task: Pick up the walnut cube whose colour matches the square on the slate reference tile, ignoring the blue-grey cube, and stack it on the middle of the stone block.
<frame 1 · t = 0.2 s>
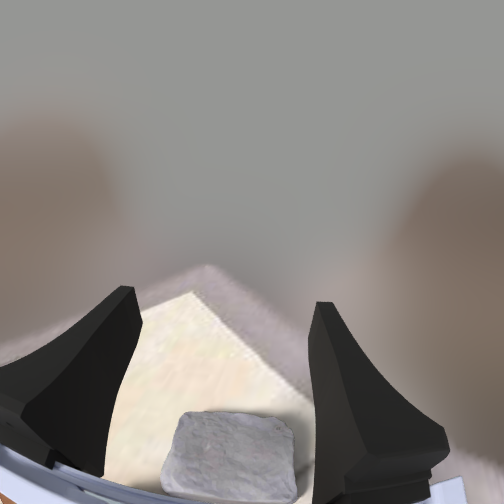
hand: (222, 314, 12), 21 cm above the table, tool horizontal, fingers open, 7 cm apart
stone block: (232, 463, 25), on the table
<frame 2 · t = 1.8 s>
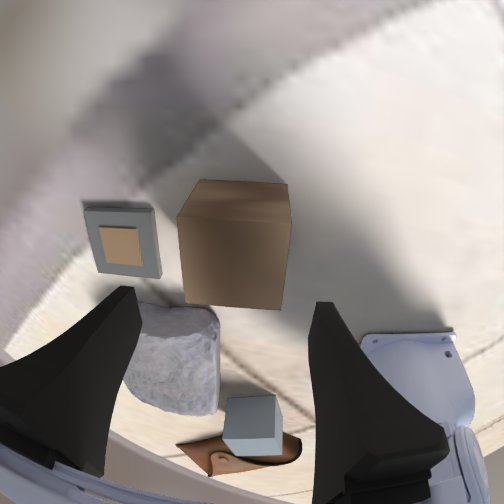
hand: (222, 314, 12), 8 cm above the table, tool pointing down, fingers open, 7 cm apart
walnut cube: (242, 219, 19), on the table
reference tile: (124, 241, 20), on the table
sunglasses case: (233, 441, 38), on the table
stone block: (168, 346, 27), on the table
blue-grey cube: (256, 407, 31), on the table
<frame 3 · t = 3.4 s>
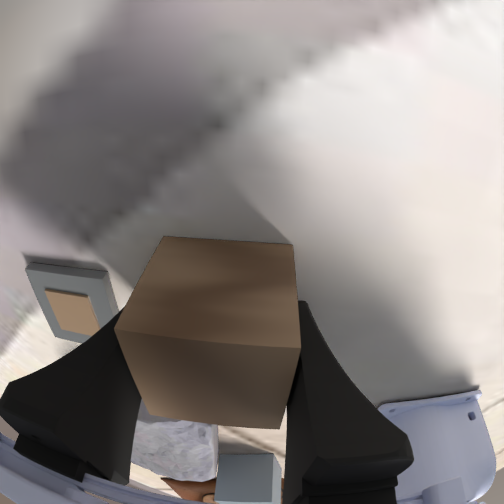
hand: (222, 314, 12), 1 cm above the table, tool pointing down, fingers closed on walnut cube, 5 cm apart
walnut cube: (226, 291, 13), on the table, touching gripper
reference tile: (79, 305, 15), on the table
sunglasses case: (227, 481, 32), on the table
stone block: (157, 409, 21), on the table
blue-grey cube: (252, 461, 25), on the table
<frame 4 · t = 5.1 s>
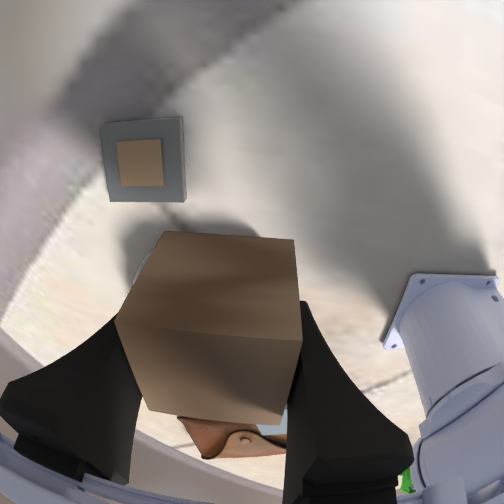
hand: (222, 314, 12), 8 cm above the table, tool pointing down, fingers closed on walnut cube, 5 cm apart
walnut cube: (227, 286, 13), point 7 cm above the table, touching gripper
reference tile: (144, 159, 17), on the table
sunglasses case: (251, 421, 35), on the table
fruit basket: (419, 466, 48), on the table
blue-grey cube: (284, 377, 28), on the table
when the fingers open (6 cm above the table, at t = 7.0 s): walnut cube moves 1 cm, resting on stone block.
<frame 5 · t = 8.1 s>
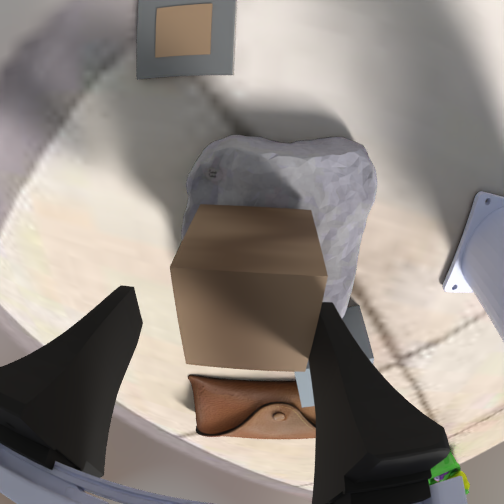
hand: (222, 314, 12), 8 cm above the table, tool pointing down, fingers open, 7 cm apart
walnut cube: (253, 253, 15), point 4 cm above the table, touching gripper, stone block
reference tile: (186, 31, 13), on the table
sunglasses case: (278, 394, 29), on the table
stone block: (268, 225, 19), on the table, touching walnut cube
fruit basket: (441, 456, 44), on the table
blue-grey cube: (327, 332, 23), on the table
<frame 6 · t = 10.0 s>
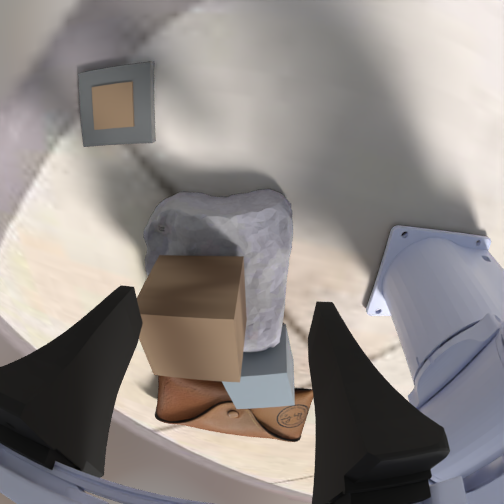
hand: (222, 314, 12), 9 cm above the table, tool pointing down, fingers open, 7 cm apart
walnut cube: (204, 289, 19), point 3 cm above the table, touching stone block
reference tile: (117, 104, 16), on the table
sunglasses case: (233, 394, 33), on the table
stone block: (218, 260, 23), on the table, touching walnut cube
blue-grey cube: (261, 346, 27), on the table
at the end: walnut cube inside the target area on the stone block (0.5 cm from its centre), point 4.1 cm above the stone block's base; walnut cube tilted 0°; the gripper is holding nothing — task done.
